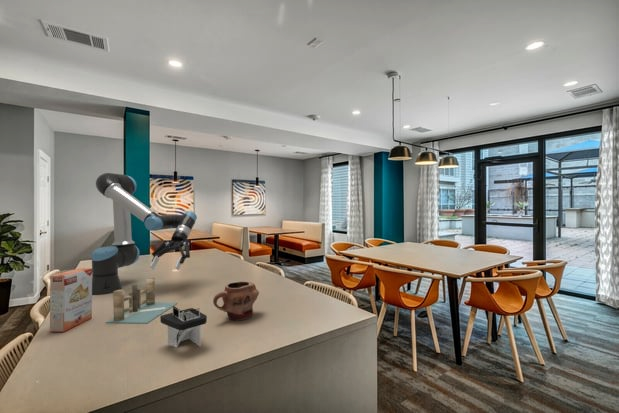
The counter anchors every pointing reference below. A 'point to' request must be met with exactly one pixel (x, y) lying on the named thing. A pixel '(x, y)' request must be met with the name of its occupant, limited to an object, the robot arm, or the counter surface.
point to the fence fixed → (119, 302)
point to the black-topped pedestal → (184, 325)
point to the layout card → (144, 313)
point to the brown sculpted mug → (238, 300)
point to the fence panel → (147, 293)
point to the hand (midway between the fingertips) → (164, 268)
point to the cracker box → (70, 299)
